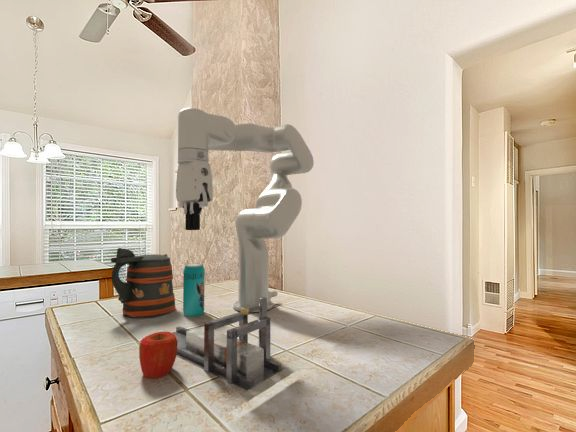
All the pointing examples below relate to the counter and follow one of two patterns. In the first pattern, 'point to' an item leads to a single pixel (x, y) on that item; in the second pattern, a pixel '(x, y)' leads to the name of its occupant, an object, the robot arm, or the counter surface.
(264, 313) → the frame
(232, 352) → the collar
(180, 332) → the rail plate
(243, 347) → the white box
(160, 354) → the apple
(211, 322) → the collar
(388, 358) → the counter surface
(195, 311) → the beverage can
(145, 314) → the beer stein
